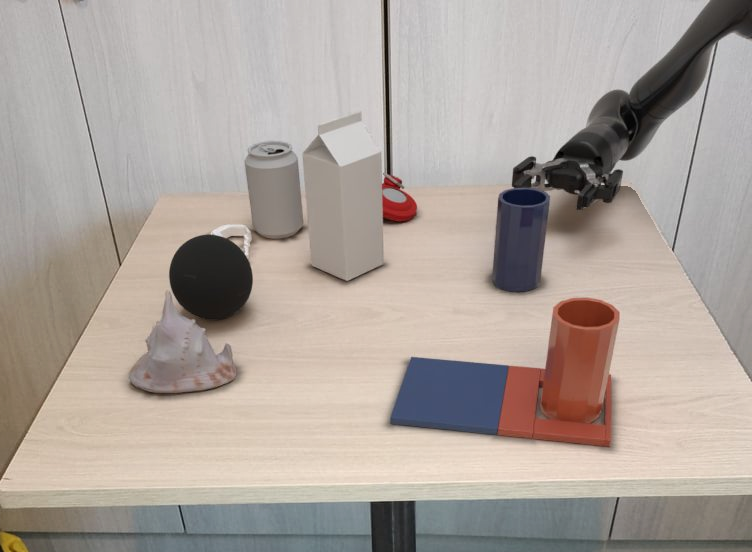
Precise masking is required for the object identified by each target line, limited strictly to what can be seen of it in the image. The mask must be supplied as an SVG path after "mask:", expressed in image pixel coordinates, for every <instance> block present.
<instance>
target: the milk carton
mask: <svg viewBox="0 0 752 552" xmlns="http://www.w3.org/2000/svg"><path fill="white" fill-rule="evenodd" d="M362 118H363V117H362V111H361V110H360V111H356V112H353V113H350V114H347V115H344V116H341V117H338V118H335V119H331V120H328V121H326V122H322V123H319V124H317V135H316V137H315V138H313V140H312V141H311V142H310V143H309V144H308V146H307V147H306V148H305V150H304V151H303V152H302V153H301V154H302V155H301V156H302V167H303V168H302V170H303V180H304V192H305V204H306V213H307V214H306V215H307V226H308V227H307V228H308V238H309V251H310V262H311V266H312V267H314V268H317V269H318V270H321V271H323V272H325V273H328V274H329V275H332V276H334V277H336V278H339V279H341V280H343V281H345V282H348V281H350V280H353V279H355V278H357V277H359V276H362V275H363V274H365V273H368V272H370V271H372V270H374V269H376V268H378V267H381V266H383V265H384V264H385V263H384V262H385V260H384V259H385V256H384V254H385V253H384V217H383V206H382V184H383V167H382V166H383V164H382V162H383V161H382V150H381V148H380V146H379V145H378V144H377V142H376V140H375V138H374V137H373V135H372V134H371V132H370V131H369V129H368V128H367V126H366V125H365V123H364V121H363V120H362Z"/></svg>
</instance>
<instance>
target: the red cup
mask: <svg viewBox="0 0 752 552" xmlns="http://www.w3.org/2000/svg"><path fill="white" fill-rule="evenodd" d="M620 319H621V318H620V311H619V310H618V309H617V308H616V307H615V306H614V305H613V304H611V303H609V302H606V301H604V300H601V299H597V298H592V297H571V298H567V299H564V300H561V301H559V302H558V303H557V304H555V305H554V306H552V314H551V321H550V329H549V336H548V337H549V338H548V344H547V350H546V351H547V352H546V360H545V367H544V369H545V374H544V381H543V387H542V390H541V397H540V404H539V405H540V411H541V412H542V414H543V415H544V417H546V418H547V419H549V420H559V421H569V422H579V423H589V424H592V422H594V421H596V420H597V419H598V418H599V417H600V415H601V414H602V411H603V406H604V402H605V391H606V386H607V381H608V376H609V374H610V370H611V365H612V360H613V356H614V350H615V345H616V339H617V334H618V330H619V329H618V328H619V324H620Z"/></svg>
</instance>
